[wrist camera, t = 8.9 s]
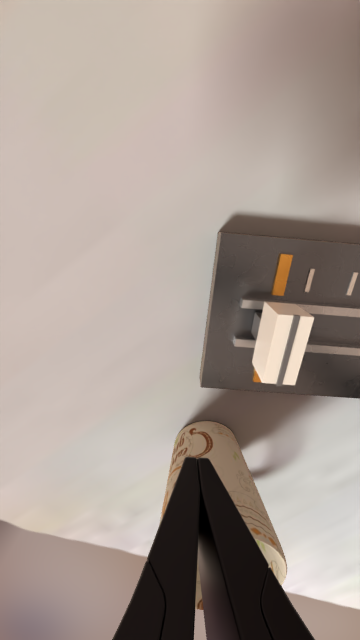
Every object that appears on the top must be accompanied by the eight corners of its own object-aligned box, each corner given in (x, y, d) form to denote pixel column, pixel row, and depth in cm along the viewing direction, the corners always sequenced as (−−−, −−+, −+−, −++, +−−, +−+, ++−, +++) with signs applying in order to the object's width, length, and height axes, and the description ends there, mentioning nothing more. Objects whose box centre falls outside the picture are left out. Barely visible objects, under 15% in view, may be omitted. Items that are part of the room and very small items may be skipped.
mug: (227, 397, 23) (260, 516, 14) (273, 485, 27) (322, 623, 18) (147, 429, 24) (126, 557, 15) (202, 508, 28) (212, 648, 19)
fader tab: (284, 294, 18) (315, 317, 14) (270, 351, 20) (295, 387, 15) (255, 292, 18) (279, 314, 14) (244, 349, 20) (262, 385, 15)
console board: (478, 254, 18) (513, 258, 17) (411, 392, 23) (433, 408, 21) (218, 231, 18) (222, 233, 16) (199, 376, 22) (201, 391, 20)
